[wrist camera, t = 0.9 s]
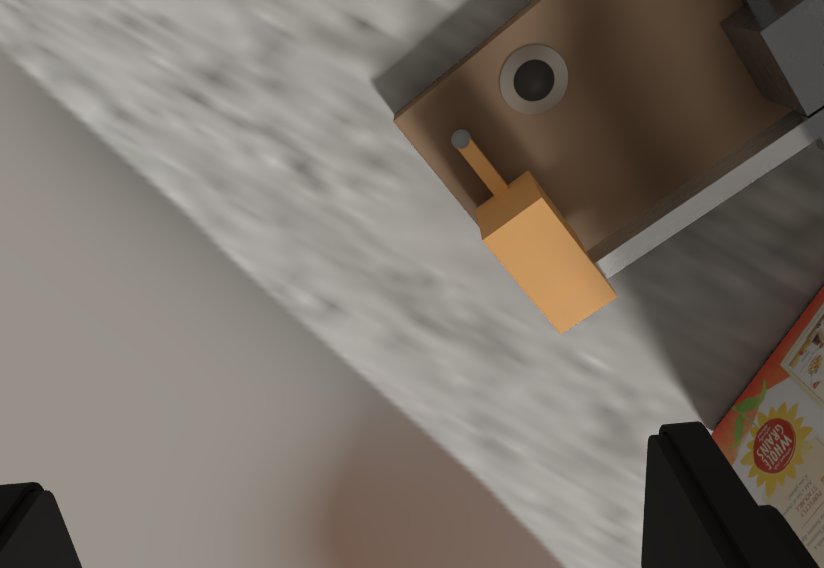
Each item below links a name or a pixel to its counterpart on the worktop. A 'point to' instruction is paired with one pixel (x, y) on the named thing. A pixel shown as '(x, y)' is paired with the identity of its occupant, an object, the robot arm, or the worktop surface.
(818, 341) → the cracker box
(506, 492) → the worktop surface
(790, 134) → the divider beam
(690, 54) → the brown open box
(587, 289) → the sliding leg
